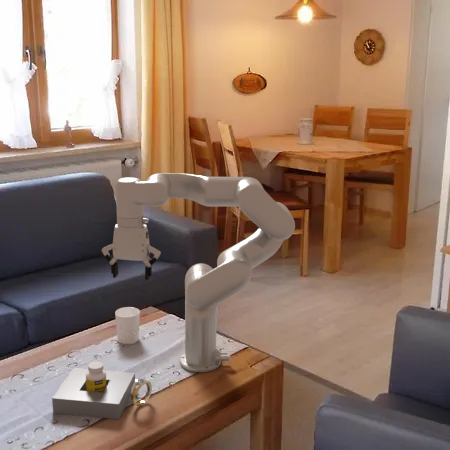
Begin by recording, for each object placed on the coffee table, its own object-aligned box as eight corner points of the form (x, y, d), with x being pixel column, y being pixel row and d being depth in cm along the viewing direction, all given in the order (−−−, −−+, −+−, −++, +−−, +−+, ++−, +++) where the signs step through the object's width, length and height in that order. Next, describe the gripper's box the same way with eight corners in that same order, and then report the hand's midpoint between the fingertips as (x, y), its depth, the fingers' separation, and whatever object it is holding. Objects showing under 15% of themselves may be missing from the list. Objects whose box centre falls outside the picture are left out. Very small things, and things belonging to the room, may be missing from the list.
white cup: (127, 332, 213) (127, 304, 211) (145, 338, 209) (144, 311, 206) (111, 340, 207) (110, 312, 204) (128, 347, 203) (127, 319, 200)
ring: (135, 412, 168) (134, 386, 166) (127, 407, 170) (126, 381, 168) (155, 402, 173) (154, 376, 171) (147, 397, 175) (146, 372, 173)
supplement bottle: (95, 404, 170) (93, 372, 167) (82, 397, 173) (81, 365, 171) (110, 396, 174) (109, 364, 171) (98, 389, 177) (96, 358, 175)
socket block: (135, 387, 180) (134, 373, 179) (119, 419, 165) (118, 404, 164) (74, 381, 182) (73, 367, 181) (53, 413, 167) (52, 398, 166)
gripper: (162, 219, 183) (163, 274, 188) (105, 216, 185) (107, 270, 190) (156, 226, 176) (157, 284, 180) (96, 223, 178) (99, 279, 183)
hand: (131, 277), depth 185 cm, fingers open, 9 cm apart
